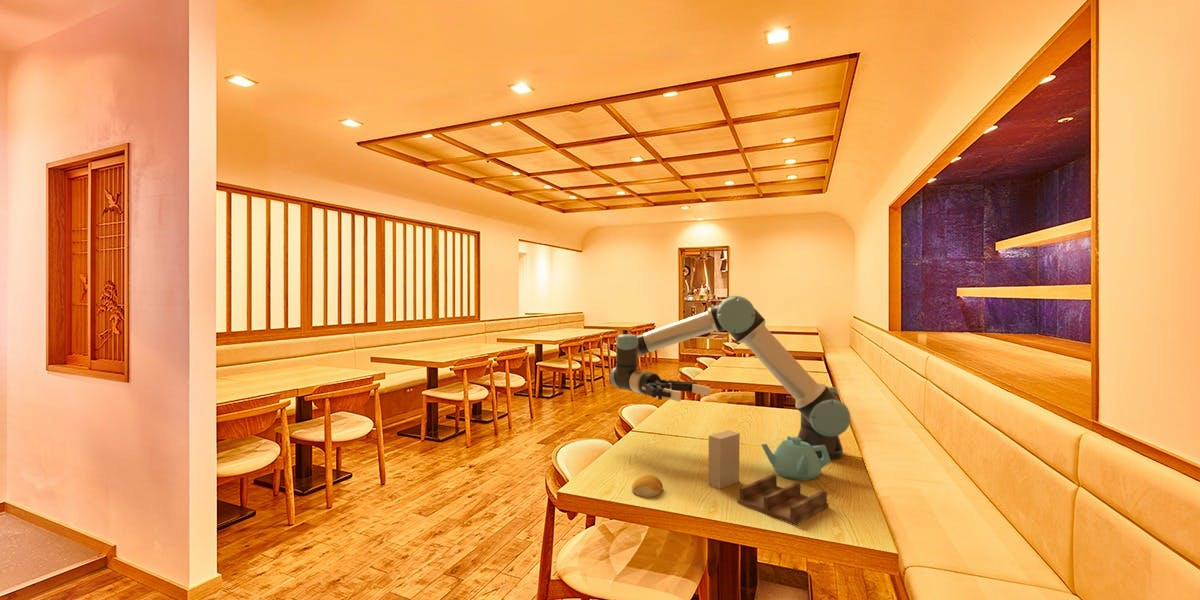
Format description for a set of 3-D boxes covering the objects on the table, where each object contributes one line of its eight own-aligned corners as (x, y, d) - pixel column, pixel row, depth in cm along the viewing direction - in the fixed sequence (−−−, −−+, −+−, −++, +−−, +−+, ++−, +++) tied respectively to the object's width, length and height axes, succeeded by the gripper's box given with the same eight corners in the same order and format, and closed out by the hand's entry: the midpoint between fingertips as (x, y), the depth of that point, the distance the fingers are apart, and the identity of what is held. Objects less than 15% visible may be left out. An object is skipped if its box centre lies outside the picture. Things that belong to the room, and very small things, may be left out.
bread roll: (664, 486, 136) (664, 472, 136) (658, 499, 127) (659, 484, 127) (635, 483, 138) (635, 469, 138) (628, 495, 129) (628, 480, 129)
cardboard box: (727, 477, 143) (728, 430, 142) (739, 481, 139) (739, 433, 139) (708, 484, 137) (708, 435, 137) (719, 489, 134) (720, 439, 134)
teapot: (805, 487, 136) (805, 449, 136) (759, 471, 148) (760, 436, 148) (833, 475, 145) (833, 440, 145) (787, 461, 157) (788, 428, 157)
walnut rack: (771, 487, 135) (771, 473, 135) (828, 507, 123) (828, 491, 123) (737, 502, 125) (738, 487, 125) (796, 525, 113) (796, 508, 112)
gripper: (670, 390, 170) (720, 401, 154) (617, 398, 154) (666, 412, 138) (671, 369, 170) (720, 377, 154) (618, 375, 154) (667, 386, 138)
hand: (695, 394), depth 146 cm, fingers open, 13 cm apart
